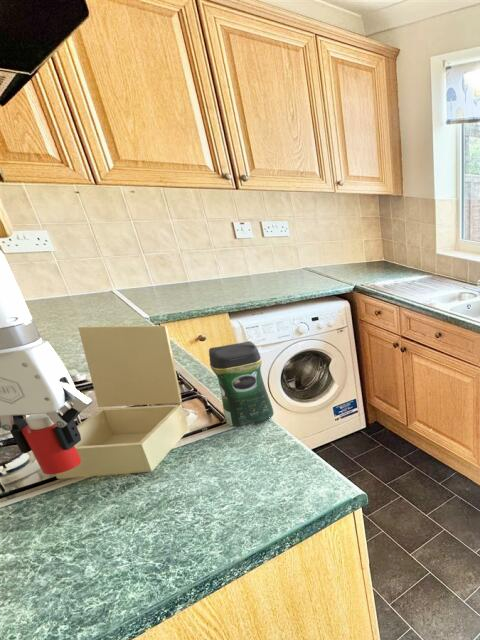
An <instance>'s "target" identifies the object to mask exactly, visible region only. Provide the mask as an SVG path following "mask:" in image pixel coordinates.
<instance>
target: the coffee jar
mask: <svg viewBox="0 0 480 640" xmlns="http://www.w3.org/2000/svg"><path fill="white" fill-rule="evenodd" d="M208 356H209V366H210V369H211V371H212V372H213V373H214V374H215V376H216V377H217V382H218V385H219V389H220V394H221V395H220V396H221V402H222V410H223V415H224V419H225V422H226V424H227V425H229V426H230V427H234V428H235V427H236V428H238V427H244V426H248V425H252V424H254V425H256V424H259V423H263V422H266V421H268V420H270V419H271V418H272V417H273V416H274V414H275V412H274V408H273V405H272V403H271V400H270V397H269V394H268V392H267V388H266V386H265V385H266V384H265V383H264V380H263V376H262V371H261V367H262V357H261V354H260V352H259V349H258V347H257V345H256V344H255V343H253V342H252V341H251V340H248V341H244V342H237V343H231V344H226V345H222V346H221V345H219V346H215V347H210V348H209V349H208ZM269 417H270V418H269Z"/></svg>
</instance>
